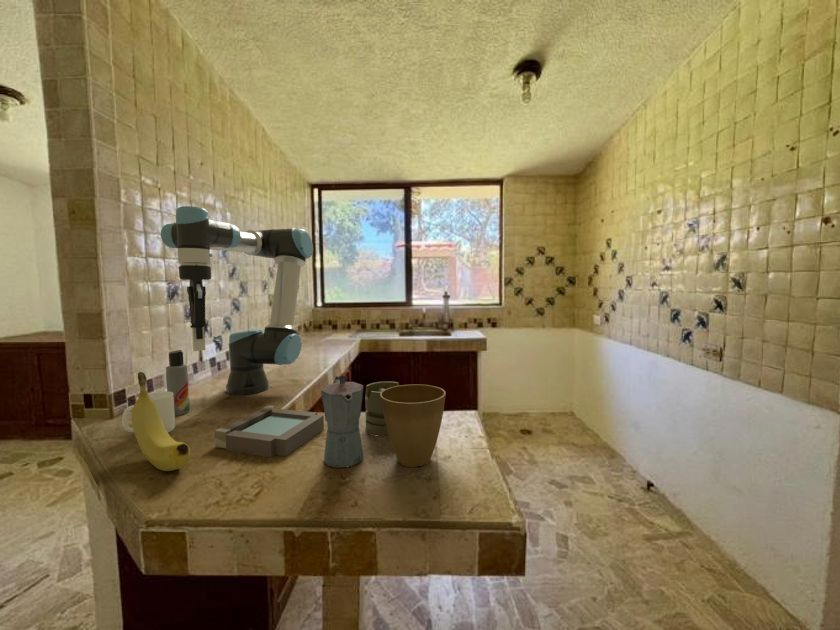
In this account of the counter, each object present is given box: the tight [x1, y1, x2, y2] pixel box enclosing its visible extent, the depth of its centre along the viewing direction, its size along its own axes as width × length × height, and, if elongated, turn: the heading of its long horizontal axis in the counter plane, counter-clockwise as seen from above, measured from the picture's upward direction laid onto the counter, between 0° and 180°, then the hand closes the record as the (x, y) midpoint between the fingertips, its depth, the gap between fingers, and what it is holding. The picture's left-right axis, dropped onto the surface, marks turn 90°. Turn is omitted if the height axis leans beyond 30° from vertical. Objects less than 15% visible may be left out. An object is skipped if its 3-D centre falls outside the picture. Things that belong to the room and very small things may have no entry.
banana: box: [131, 371, 191, 472], centre depth 83 cm, size 23×6×20 cm, turn 55°
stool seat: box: [225, 408, 325, 458], centre depth 98 cm, size 20×16×4 cm
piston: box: [364, 381, 400, 437], centre depth 104 cm, size 11×12×11 cm
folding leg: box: [214, 405, 275, 449], centre depth 101 cm, size 19×3×4 cm, turn 164°
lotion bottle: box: [165, 349, 190, 417], centre depth 117 cm, size 6×6×20 cm
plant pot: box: [380, 383, 446, 468], centre depth 85 cm, size 15×15×16 cm
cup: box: [121, 391, 176, 434], centre depth 101 cm, size 8×12×10 cm
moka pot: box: [320, 375, 364, 468], centre depth 85 cm, size 10×15×20 cm, turn 27°
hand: (199, 350), depth 103 cm, fingers closed
